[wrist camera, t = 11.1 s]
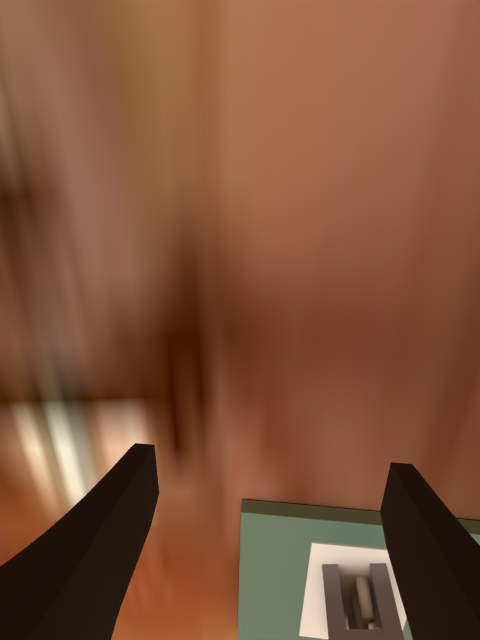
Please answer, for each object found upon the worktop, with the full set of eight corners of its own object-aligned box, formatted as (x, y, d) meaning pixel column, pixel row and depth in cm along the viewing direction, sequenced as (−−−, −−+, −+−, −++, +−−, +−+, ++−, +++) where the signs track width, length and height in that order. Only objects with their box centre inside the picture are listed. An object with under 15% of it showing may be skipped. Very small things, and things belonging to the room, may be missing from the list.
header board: (504, 523, 25) (536, 580, 22) (450, 652, 31) (469, 712, 28) (242, 499, 26) (237, 549, 23) (238, 628, 32) (233, 683, 29)
